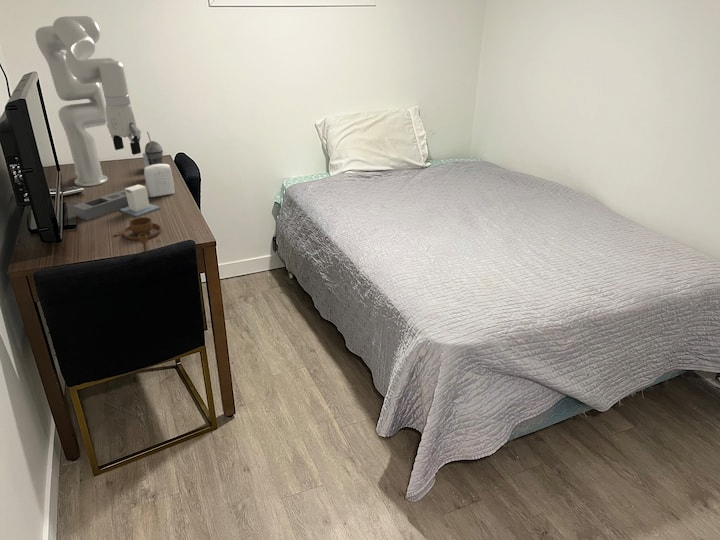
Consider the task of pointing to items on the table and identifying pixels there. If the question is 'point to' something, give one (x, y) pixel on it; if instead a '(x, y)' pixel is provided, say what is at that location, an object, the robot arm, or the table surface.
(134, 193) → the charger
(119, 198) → the power strip
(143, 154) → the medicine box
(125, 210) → the mat
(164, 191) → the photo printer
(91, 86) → the robot arm
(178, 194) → the table surface
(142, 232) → the place setting
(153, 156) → the beverage cup
